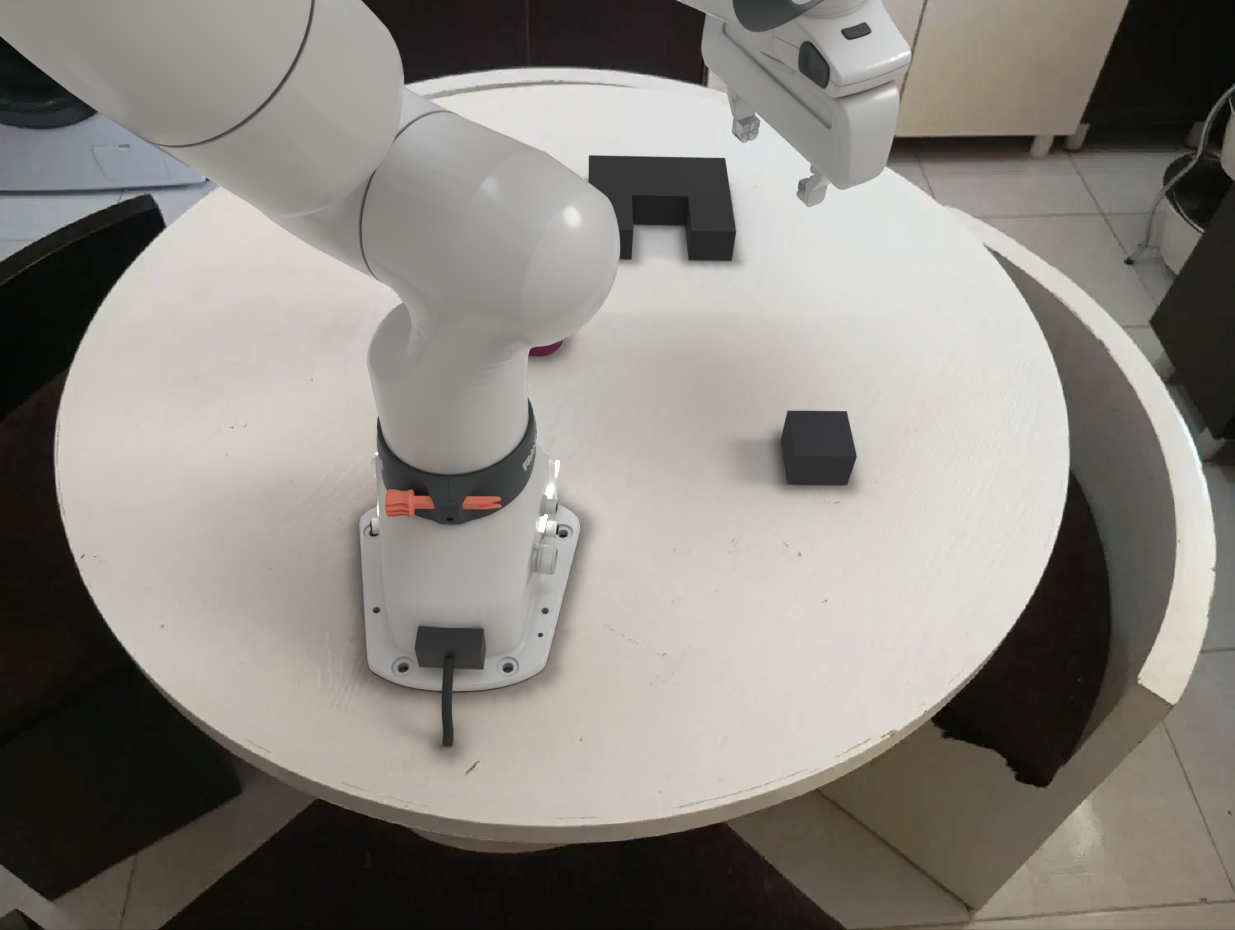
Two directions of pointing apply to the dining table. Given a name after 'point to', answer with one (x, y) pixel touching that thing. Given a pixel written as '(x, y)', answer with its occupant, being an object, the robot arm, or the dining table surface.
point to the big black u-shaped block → (670, 199)
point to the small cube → (818, 447)
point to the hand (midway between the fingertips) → (776, 167)
